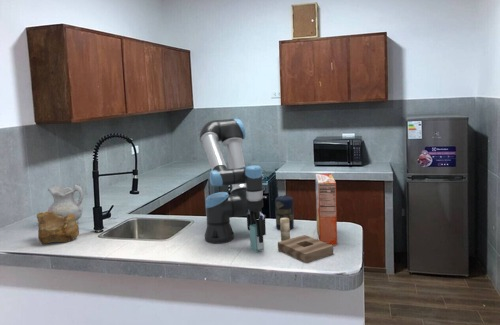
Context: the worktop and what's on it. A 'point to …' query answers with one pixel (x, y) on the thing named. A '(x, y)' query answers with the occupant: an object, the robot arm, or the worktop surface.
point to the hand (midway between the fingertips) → (257, 247)
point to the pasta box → (326, 208)
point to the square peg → (254, 238)
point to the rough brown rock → (56, 227)
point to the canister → (284, 210)
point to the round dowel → (285, 229)
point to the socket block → (305, 248)
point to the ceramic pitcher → (66, 201)
